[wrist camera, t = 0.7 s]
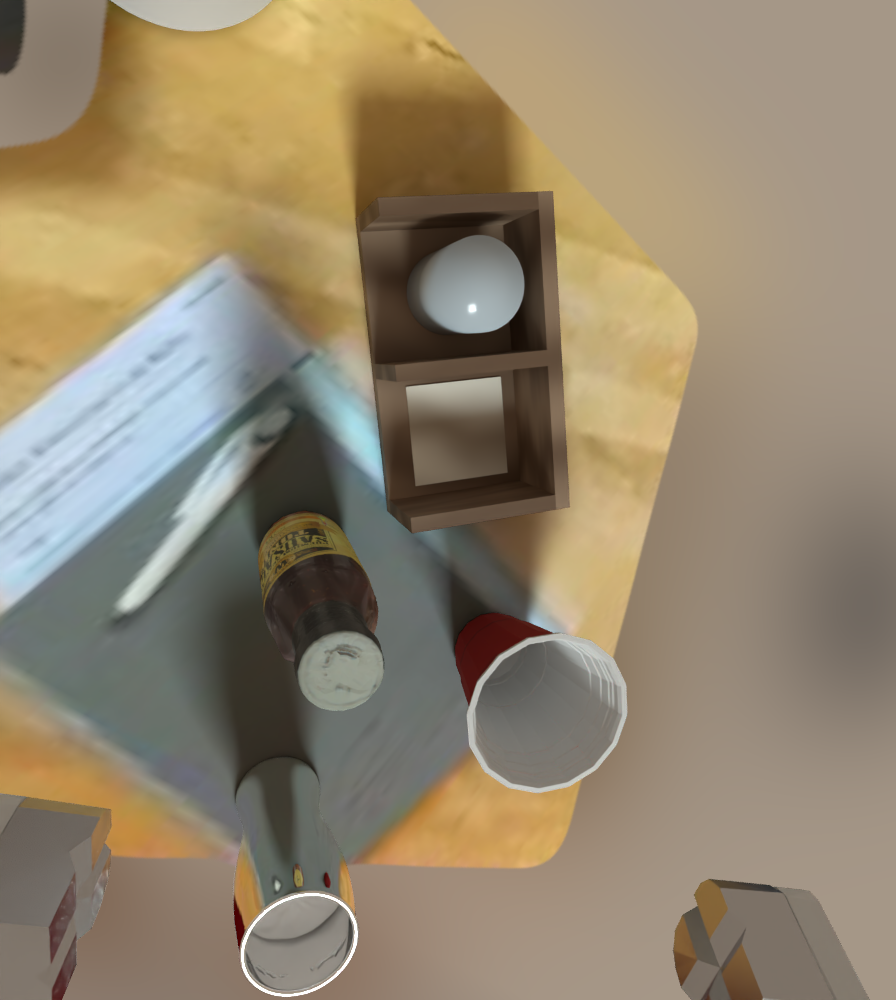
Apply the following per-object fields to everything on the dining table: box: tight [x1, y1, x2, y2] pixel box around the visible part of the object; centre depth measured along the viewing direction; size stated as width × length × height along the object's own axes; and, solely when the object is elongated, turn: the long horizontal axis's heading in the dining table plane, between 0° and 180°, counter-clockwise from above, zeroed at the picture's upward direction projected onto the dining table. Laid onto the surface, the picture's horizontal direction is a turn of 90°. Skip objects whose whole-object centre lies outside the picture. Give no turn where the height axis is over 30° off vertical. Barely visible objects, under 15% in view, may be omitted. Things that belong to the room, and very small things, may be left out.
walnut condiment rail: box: [356, 191, 570, 533], centre depth 49 cm, size 20×11×7 cm, turn 5°
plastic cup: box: [455, 613, 627, 793], centre depth 52 cm, size 11×11×12 cm
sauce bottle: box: [258, 511, 384, 711], centre depth 43 cm, size 7×6×20 cm
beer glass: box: [233, 757, 359, 997], centre depth 48 cm, size 7×7×15 cm
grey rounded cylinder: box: [407, 235, 524, 335], centre depth 47 cm, size 6×6×7 cm
